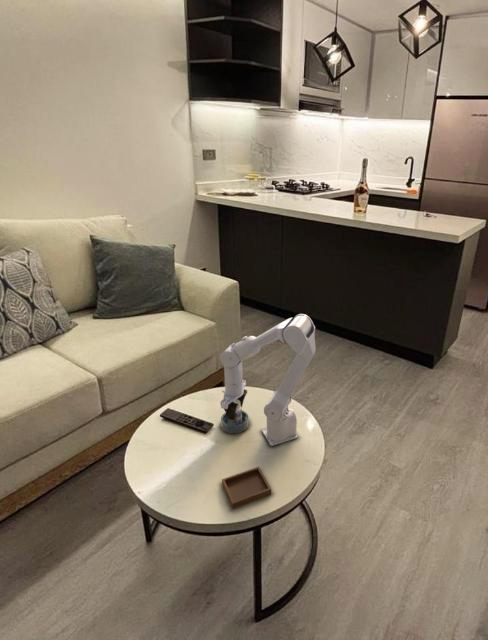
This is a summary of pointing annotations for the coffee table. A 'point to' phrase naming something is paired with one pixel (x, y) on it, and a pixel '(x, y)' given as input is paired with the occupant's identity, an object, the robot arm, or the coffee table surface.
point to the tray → (246, 487)
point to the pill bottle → (236, 415)
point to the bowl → (234, 429)
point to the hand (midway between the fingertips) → (234, 414)
